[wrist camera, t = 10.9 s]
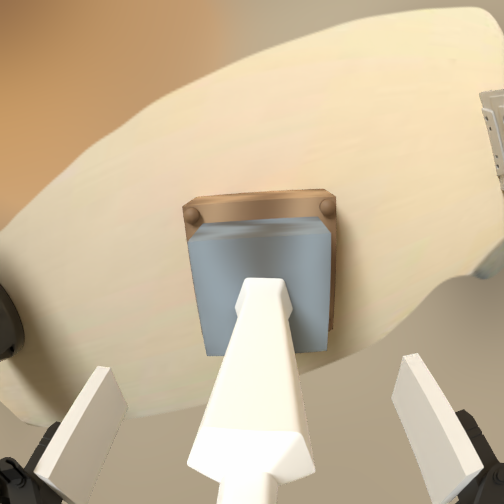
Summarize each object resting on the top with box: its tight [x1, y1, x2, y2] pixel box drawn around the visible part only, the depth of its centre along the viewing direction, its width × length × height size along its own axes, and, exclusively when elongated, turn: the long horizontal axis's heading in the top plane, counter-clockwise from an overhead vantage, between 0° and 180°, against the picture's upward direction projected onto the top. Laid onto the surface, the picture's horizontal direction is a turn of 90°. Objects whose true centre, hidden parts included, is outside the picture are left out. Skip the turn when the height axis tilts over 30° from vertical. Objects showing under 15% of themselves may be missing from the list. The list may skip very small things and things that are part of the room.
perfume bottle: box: [187, 278, 315, 504], centre depth 13 cm, size 5×4×15 cm
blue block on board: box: [182, 189, 336, 356], centre depth 25 cm, size 12×12×10 cm
